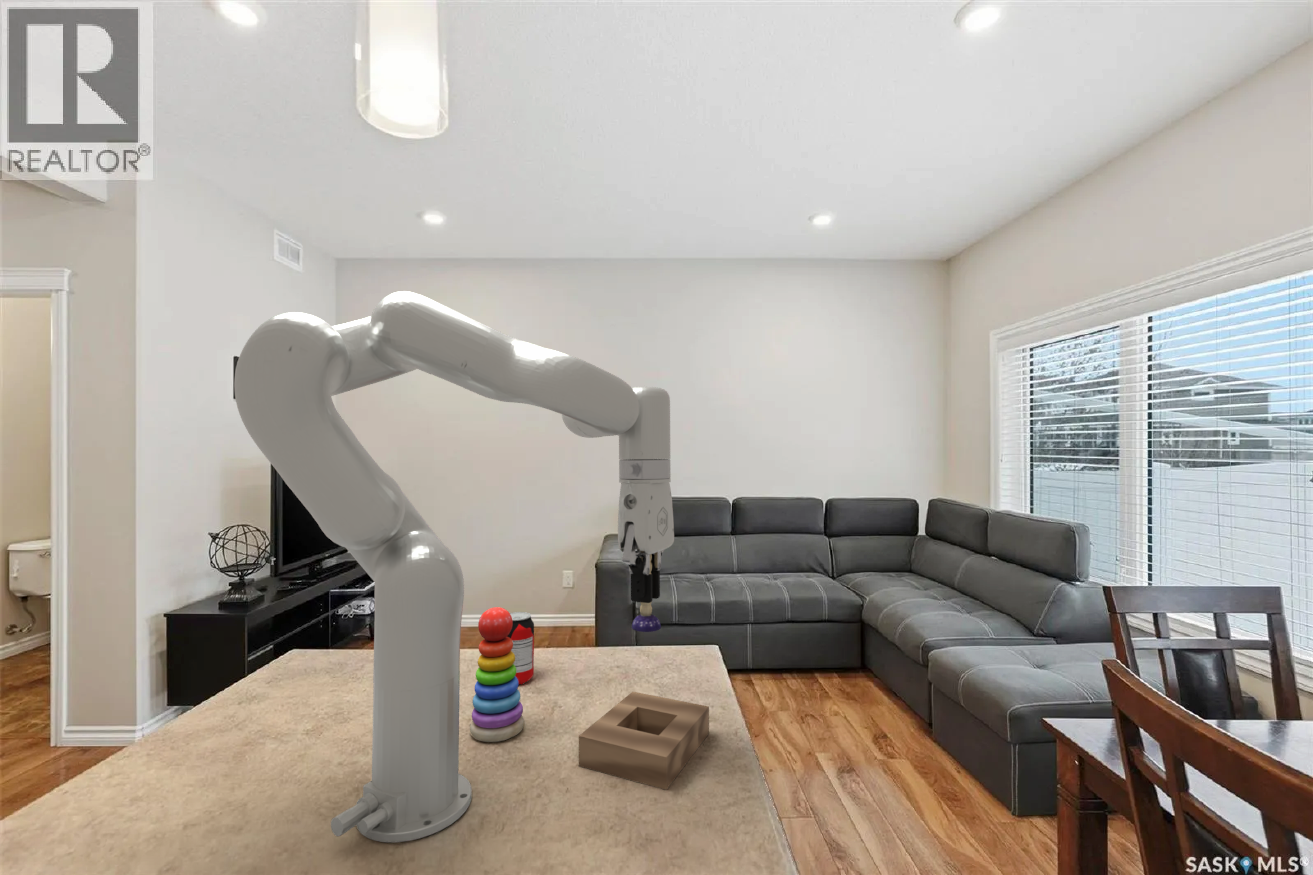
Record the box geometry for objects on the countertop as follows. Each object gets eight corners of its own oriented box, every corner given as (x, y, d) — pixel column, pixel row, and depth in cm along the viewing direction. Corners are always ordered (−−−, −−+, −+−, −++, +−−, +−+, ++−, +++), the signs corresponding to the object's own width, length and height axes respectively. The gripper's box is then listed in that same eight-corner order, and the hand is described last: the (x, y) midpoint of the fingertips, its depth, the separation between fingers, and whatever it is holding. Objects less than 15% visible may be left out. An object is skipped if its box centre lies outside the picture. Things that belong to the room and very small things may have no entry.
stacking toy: (490, 716, 91) (492, 599, 92) (534, 724, 88) (535, 603, 89) (458, 739, 83) (460, 611, 84) (504, 748, 81) (505, 616, 81)
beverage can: (532, 672, 109) (533, 610, 110) (534, 685, 103) (535, 619, 104) (498, 675, 108) (499, 612, 108) (498, 689, 102) (499, 621, 102)
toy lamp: (656, 634, 78) (657, 513, 79) (624, 632, 79) (625, 512, 80) (663, 625, 83) (664, 511, 84) (632, 623, 84) (633, 510, 85)
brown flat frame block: (666, 789, 71) (666, 757, 71) (578, 766, 76) (578, 735, 76) (709, 733, 85) (708, 706, 85) (632, 716, 91) (632, 691, 91)
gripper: (644, 474, 73) (645, 617, 73) (688, 471, 88) (689, 590, 87) (594, 474, 77) (595, 610, 76) (644, 470, 91) (645, 585, 90)
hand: (645, 598), depth 82 cm, fingers closed on toy lamp
